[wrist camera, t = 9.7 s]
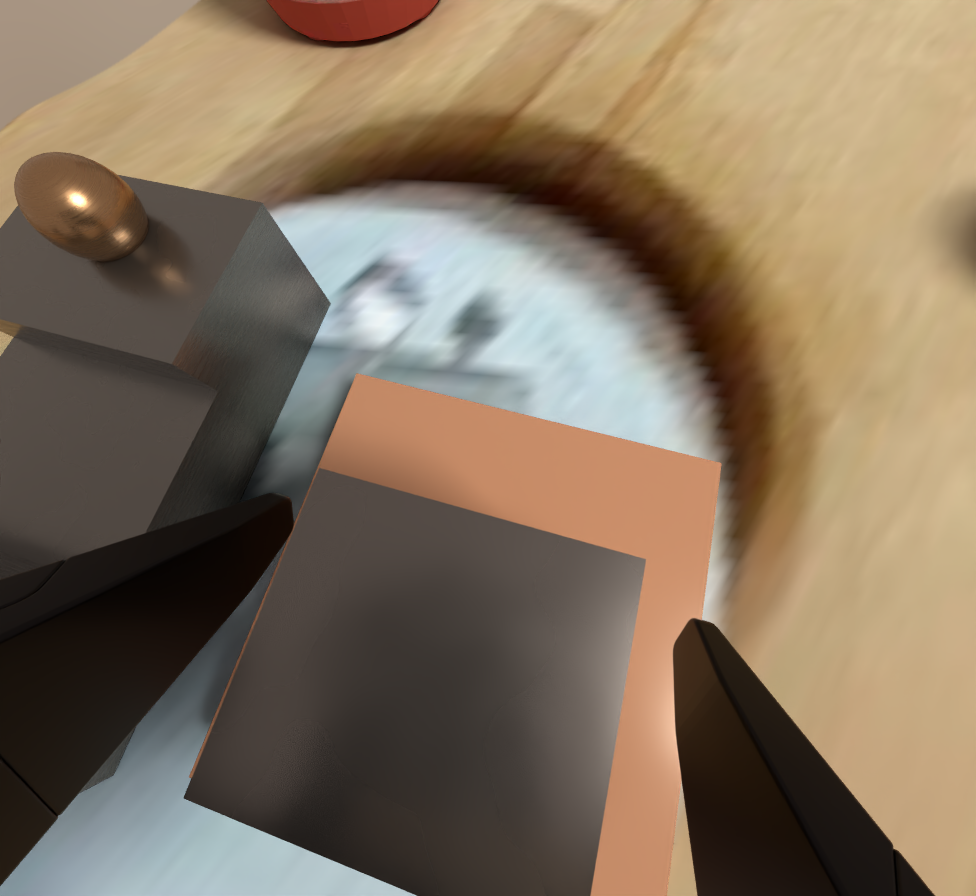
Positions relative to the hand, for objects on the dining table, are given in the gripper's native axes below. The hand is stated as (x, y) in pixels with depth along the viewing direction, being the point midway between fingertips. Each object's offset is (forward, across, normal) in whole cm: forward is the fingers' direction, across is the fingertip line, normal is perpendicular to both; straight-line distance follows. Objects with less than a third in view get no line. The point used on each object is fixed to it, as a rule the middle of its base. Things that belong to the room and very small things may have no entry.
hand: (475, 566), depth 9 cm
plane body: (+5, +15, +5) cm, 17 cm away
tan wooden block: (+2, 0, +4) cm, 5 cm away
